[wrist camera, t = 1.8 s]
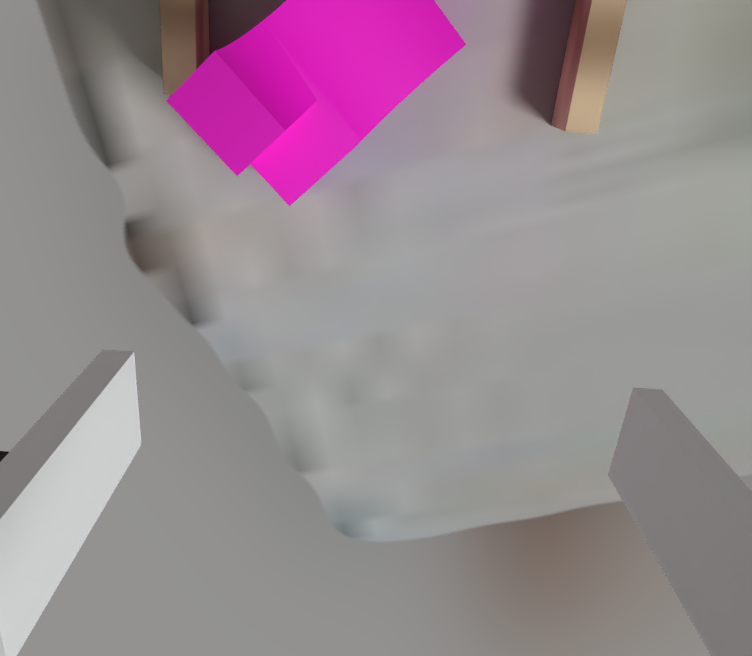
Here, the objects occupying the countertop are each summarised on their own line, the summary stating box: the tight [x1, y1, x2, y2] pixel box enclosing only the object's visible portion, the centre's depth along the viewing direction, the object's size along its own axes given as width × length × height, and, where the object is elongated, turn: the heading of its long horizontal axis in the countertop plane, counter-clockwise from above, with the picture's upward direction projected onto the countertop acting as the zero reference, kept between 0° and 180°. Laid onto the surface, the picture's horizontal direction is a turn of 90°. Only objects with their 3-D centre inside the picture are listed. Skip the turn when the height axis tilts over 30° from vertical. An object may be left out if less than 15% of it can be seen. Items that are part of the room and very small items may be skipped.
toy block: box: [167, 0, 466, 206], centre depth 26 cm, size 15×6×8 cm, turn 131°
